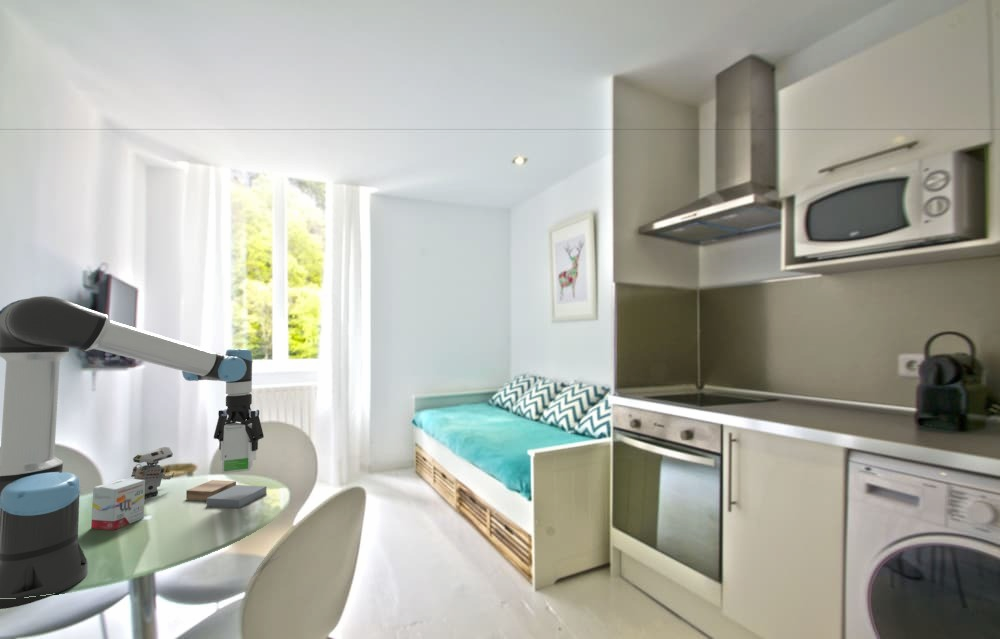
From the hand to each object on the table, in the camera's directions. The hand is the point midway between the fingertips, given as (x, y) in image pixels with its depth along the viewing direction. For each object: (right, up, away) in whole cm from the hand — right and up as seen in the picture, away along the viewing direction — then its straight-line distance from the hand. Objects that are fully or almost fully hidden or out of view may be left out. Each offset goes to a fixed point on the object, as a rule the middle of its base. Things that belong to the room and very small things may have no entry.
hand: (238, 460), depth 137 cm
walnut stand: (-12, -14, +4) cm, 19 cm away
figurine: (-35, -14, +7) cm, 39 cm away
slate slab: (0, -13, -1) cm, 13 cm away
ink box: (-25, -13, -17) cm, 33 cm away
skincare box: (0, -3, 0) cm, 3 cm away
